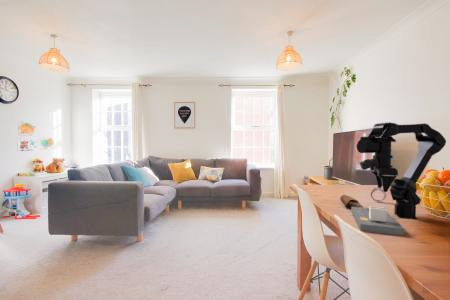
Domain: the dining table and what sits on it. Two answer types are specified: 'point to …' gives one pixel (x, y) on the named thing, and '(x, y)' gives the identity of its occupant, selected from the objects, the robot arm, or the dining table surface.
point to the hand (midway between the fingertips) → (382, 189)
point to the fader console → (376, 222)
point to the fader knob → (377, 214)
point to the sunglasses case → (349, 202)
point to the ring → (376, 190)
